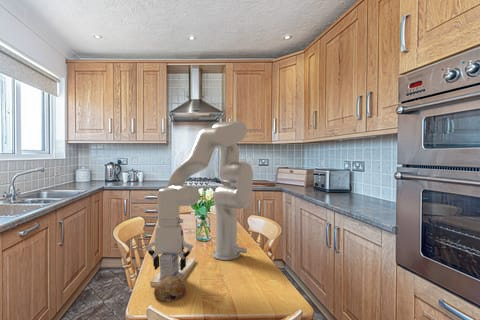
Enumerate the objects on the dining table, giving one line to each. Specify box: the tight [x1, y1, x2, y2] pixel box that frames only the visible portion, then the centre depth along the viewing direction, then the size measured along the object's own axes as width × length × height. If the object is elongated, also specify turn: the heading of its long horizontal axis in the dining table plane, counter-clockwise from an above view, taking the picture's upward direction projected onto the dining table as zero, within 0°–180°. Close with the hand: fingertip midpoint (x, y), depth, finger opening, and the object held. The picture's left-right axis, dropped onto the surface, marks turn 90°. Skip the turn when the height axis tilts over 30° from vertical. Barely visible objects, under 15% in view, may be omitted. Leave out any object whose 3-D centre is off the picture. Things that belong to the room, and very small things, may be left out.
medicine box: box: [159, 254, 180, 279], centre depth 109 cm, size 8×4×9 cm, turn 174°
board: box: [149, 257, 197, 287], centre depth 116 cm, size 10×24×2 cm, turn 174°
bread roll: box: [153, 275, 187, 303], centre depth 98 cm, size 10×10×8 cm
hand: (169, 268), depth 109 cm, fingers open, 9 cm apart
